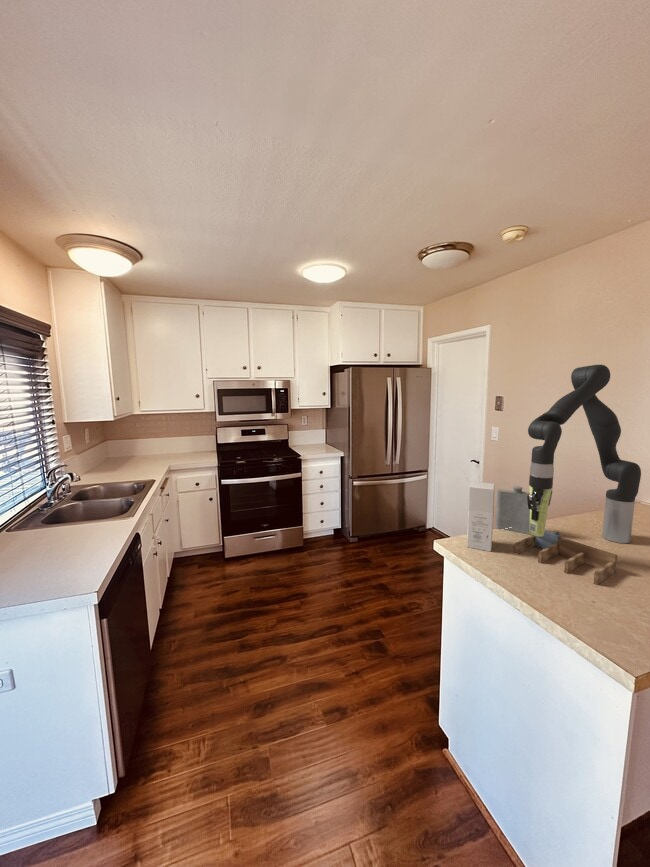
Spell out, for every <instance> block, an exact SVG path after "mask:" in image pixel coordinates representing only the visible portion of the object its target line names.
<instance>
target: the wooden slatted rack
mask: <svg viewBox="0 0 650 867" xmlns="http://www.w3.org/2000/svg"><path fill="white" fill-rule="evenodd" d="M514 544H515V545H514V554H516V555H517V554H520V553H522V552H525V551H526V550H528V549H531V548H533V547H537V548H541V550H539V551H538V558H537V562H538V563H540V564H542V563H544V562H546V561H548V560H549V559H551V558H554V557H555V556H557V555H561V556H563V557H567V558H568V559H567V560H566V559H565V561H564V569H563V572H564V573H565V574H569V573H571V572H573V571H574V570H576V569H577V568H579V567H581V566H582V565H583V564H587V565H589V566H592V567H595V568H598V569H596V570H595V571H594V576H593V584H594V585H596V586H598V585H600V583H602V582H604V581H605V580H606V579H608V578H609V577H610V576H612V575H613V574H615V573H616V572H617V564H618V554H615V553H612V552H608V551H606V550H602V549H599V548H596V547H593V546H591V545H586V544H584V543H581V542H577V541H574V540H571V539H568V538H564V537H562V534H561V533H560V531H559V530H554V531H550V530H548V529H545V532H544V536H541V537H540V536H534V535H532V536H531V535H529V536H528V537H526V538H524V539H522V540H519V541H517V542H515V543H514Z"/></svg>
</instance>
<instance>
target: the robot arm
mask: <svg viewBox="0 0 650 867" xmlns="http://www.w3.org/2000/svg"><path fill="white" fill-rule="evenodd" d="M570 375H571V376H570V379H571V383H572V387H573V389H574V390H572V391H571V392H569V393H566V394H565V395H563V396H561V397H560V398H559V399H558V400H557V401H556V402H554V403H553V405H552V406H551V407H550V408H549V409H548V410H547V411H546V412H544V413H543V414H541V415H539V416H538V417H537V418H535V419H534V420H533V421H532V422H530V424H529V425H528V428H527V433H528V437H530V438H531V439H533V440H539V441H544V442H543V444H542V445H537V446H534V447H533V448H532V449H531V461H530V467H529V477H528V478H529V479H528V486H529V485H530V486H531V487H532V488H533V490H532V494H531V495H527V501H528V509H531V510H532V515H531V519H532V520H535V521H538V517H539V508H540V506H541V505H542V501H543V498H544V496H545V494H543V490H544V489H551V488H552V487H553V486H554V485H553V484H554V475H555V474H554V472H555V467H554V461H555V460H554V458H555V453H556V449H557V447H558V444H559V442H560V441H561V440H560V439H561V437H562V432H563V430H562V429H563V428H562V426H561V425H564V424H566V423H567V422H568V420H569V419H570V418H571V417H572V416H573V415H574V414H575V412H576V411H577V410H578V409H579V408H580V407H581V406H582V409H583V410H584V413H585V416H586V418H587V421H588V422H587V423H588V425H589V428H590V429H589V430H590V432H591V434H592V436H593V439H594V442H595V446H596V448H597V451H598V455H599V460H600V465H601V466H600V467H601V470H602V474H603V475H604V477H605V478H607V479H608V481H609V480H610V481H612V482H615V483H617V487H616V488H612V489H611V488H610V489H607V490H606V492H605V501H604V512H603V524H602V532H601V533H602V534H601V537H602V538H603V539H604V540H608V541H610V542H614V543H617V544H618V543H619V544H630V543H631V541H632V540H631V539H632V532H633V523H634V522H633V521H634V511H635V505H636V504H635V503H636V502H635V501H636V497H637V496H638V493H639V488H640V484H641V479H642V478H641V477H642V469H641V467H640V465H639V464H638V463H636V462H634V461H628V460H623V459H621V458H620V457H619V453H618V451H617V444H618V442H619V440H620V437H621V434H622V428H621V425H620V422H619V418H618V416H617V414H616V413H615V412H614V411H613V410H612V409H611V408H610V407H609V406H608V405H606V404H605V403H604V402H603V401H601V400H600V399H599V398H598V396H597V395H596V394H597V393H599V392H600V391H601V390H603V389H604V388H605V387H606V386H607V385H608V384H609V382H610V379H611V370H610V368H609V367H608V366H606V365H604V364H592V365H586V366H579V367H576V368H574V369H573V370H572V372H571V374H570ZM553 488H554V487H553ZM553 488H552V489H553ZM552 496H553V490H552V491H551V495H550V500H549V505H548V507H549V506H550V505H551V501H552ZM536 501H537V502H539V503H537V502H536ZM536 504H537V507H536Z"/></svg>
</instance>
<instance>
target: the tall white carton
mask: <svg viewBox="0 0 650 867" xmlns="http://www.w3.org/2000/svg"><path fill="white" fill-rule="evenodd" d="M468 490H469V491H468V492H469V493H468V510H467V512H468V513H467V531H466V533H467V534H466V537H467V538H466V548H469V549H473V550H474V549H476V550H481V551H485V552H492V546H493V535H494V533H493V532H494V531H493V530H494V513H495V493H496V491H495V490H496V483H493V482H483V481H482V482H481V481H471V483H470V484H469V489H468Z"/></svg>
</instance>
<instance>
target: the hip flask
mask: <svg viewBox="0 0 650 867" xmlns="http://www.w3.org/2000/svg"><path fill="white" fill-rule="evenodd" d="M512 489H513V490H509V489H508V490H507V489H497V490H496V504H495V526H494V527H495V529H496V530H501V529H504V530H503V531H509V532H514V533H520V534H524V535H529V536H532V535H531V534H530V533H529V524H530V509H528V501H527V495H530V492H528V491H523V487H522V486H519V485H513V487H512ZM509 527H512V528H509ZM505 528H508V529H505Z"/></svg>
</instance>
